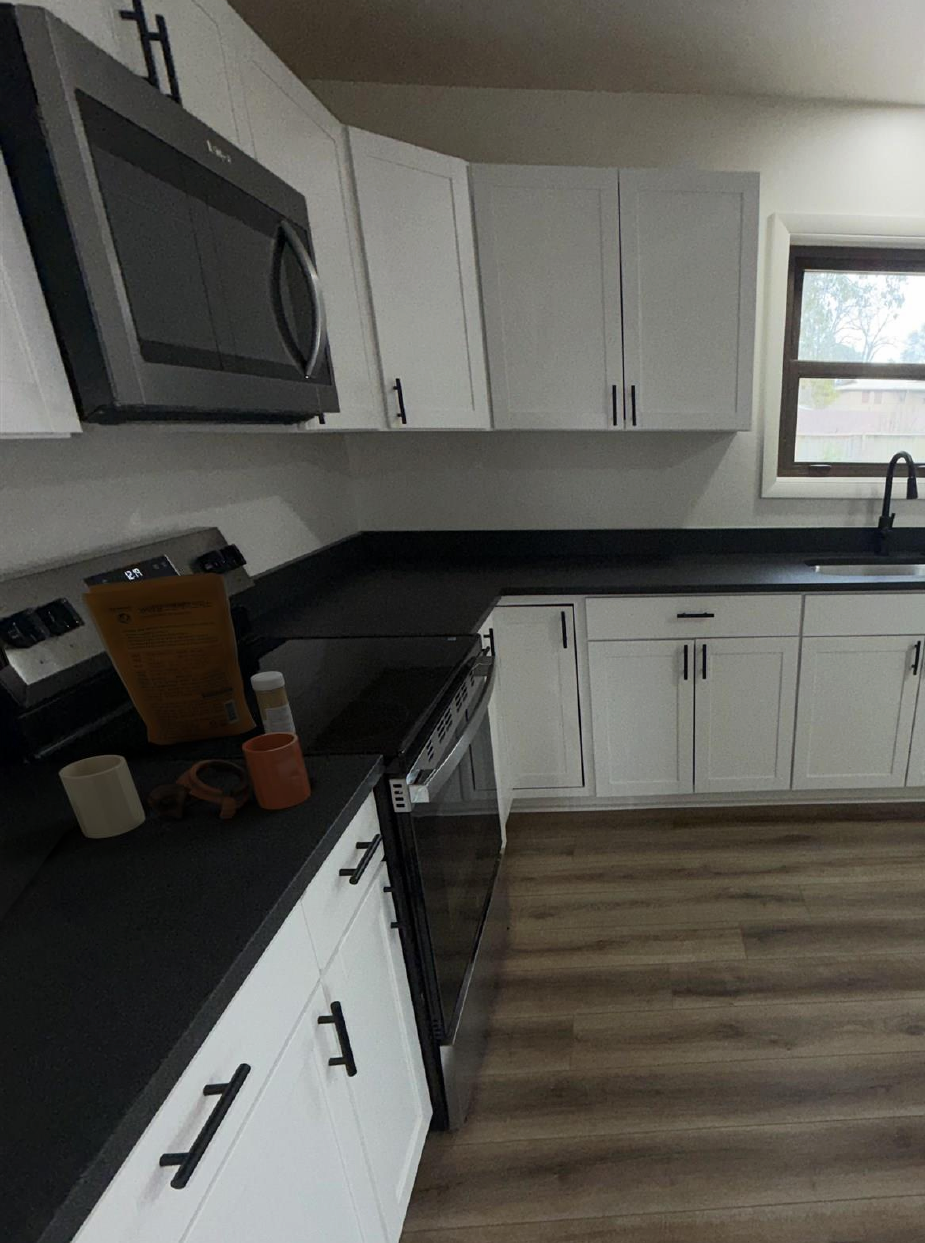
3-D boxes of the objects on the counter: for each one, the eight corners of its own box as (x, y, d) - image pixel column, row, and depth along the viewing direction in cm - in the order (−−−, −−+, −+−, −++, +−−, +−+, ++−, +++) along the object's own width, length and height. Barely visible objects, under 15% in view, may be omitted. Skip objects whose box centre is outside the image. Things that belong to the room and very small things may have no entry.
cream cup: (75, 842, 96) (50, 782, 92) (92, 817, 102) (69, 759, 98) (138, 832, 98) (116, 772, 94) (151, 808, 104) (131, 751, 100)
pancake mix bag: (262, 735, 128) (219, 574, 116) (133, 753, 121) (74, 584, 109) (266, 721, 133) (225, 567, 122) (143, 738, 127) (87, 576, 115)
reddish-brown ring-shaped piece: (220, 791, 110) (234, 749, 106) (253, 833, 107) (269, 791, 104) (128, 807, 99) (142, 760, 96) (163, 853, 96) (178, 807, 93)
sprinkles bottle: (271, 748, 123) (251, 672, 117) (301, 743, 124) (282, 668, 119) (269, 759, 119) (248, 681, 113) (300, 754, 121) (281, 677, 115)
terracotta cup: (254, 813, 103) (238, 755, 99) (261, 791, 109) (245, 736, 105) (309, 804, 105) (295, 747, 101) (312, 783, 111) (299, 729, 107)
